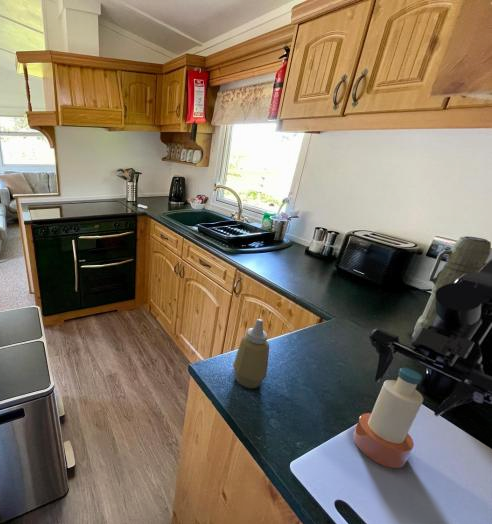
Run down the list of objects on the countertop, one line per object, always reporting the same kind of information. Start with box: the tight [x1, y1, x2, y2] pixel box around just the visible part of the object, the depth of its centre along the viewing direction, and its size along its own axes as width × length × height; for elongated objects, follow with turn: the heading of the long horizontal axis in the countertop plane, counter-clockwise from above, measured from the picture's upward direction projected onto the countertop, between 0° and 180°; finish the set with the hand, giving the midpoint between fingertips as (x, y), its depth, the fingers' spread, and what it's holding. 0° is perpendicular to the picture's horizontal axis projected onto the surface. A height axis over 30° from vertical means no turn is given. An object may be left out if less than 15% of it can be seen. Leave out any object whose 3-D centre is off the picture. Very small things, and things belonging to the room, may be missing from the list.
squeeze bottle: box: [232, 318, 270, 389], centre depth 71 cm, size 8×8×18 cm
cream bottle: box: [368, 367, 424, 444], centre depth 54 cm, size 6×6×14 cm
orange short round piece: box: [352, 412, 415, 469], centre depth 57 cm, size 8×8×4 cm
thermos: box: [411, 235, 492, 339], centre depth 89 cm, size 9×12×35 cm
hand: (403, 397), depth 55 cm, fingers open, 9 cm apart
